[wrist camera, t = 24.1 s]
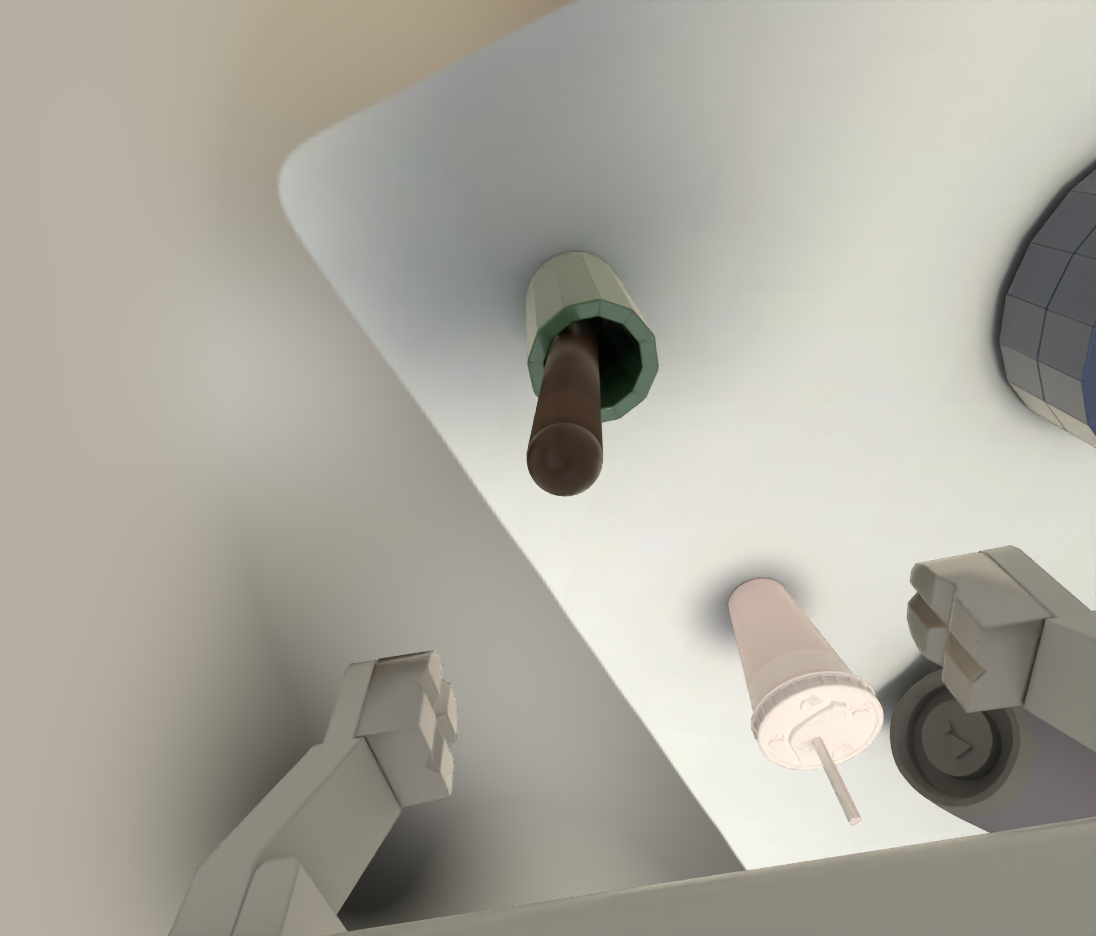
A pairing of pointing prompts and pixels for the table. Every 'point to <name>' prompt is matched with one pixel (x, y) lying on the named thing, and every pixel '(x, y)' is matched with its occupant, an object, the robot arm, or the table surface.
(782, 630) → the smoothie
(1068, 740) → the bluetooth speaker
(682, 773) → the table surface
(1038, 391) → the bowl
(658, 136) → the table surface
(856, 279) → the table surface
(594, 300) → the holder
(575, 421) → the stick
